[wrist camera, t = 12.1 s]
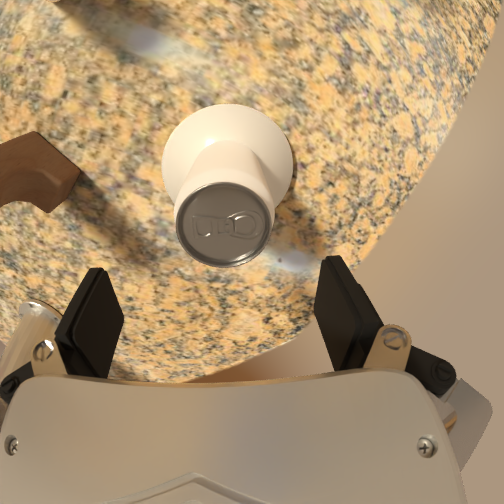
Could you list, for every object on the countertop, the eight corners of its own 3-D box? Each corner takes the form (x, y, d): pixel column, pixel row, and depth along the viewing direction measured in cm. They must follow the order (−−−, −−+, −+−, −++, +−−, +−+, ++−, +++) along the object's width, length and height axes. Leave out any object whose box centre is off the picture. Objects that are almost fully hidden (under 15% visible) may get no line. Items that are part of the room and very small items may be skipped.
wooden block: (82, 170, 25) (-27, 263, 10) (67, 199, 26) (-27, 299, 11) (35, 129, 21) (-83, 190, 6) (22, 159, 22) (-81, 231, 7)
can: (259, 200, 28) (276, 272, 18) (195, 202, 27) (176, 274, 17) (260, 138, 24) (282, 174, 14) (191, 140, 24) (161, 177, 14)
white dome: (287, 221, 30) (289, 226, 30) (171, 226, 30) (170, 230, 29) (293, 103, 23) (295, 104, 22) (158, 109, 23) (156, 110, 22)
